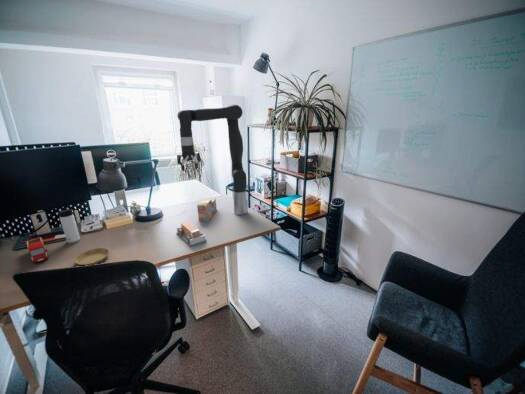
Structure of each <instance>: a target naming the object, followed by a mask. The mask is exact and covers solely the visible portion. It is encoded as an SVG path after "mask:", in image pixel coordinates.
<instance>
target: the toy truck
mask: <svg viewBox="0 0 525 394" xmlns="http://www.w3.org/2000/svg"><path fill="white" fill-rule="evenodd" d="M25 242H26V246H27V251H28V253H29V257H30V259H31V261H32V263H33V264H34V263H38V262H41V261H44V260H47V259H49V256H48V253H47V252H48V249H47V248H46V246H45V244H44V241H43V238H42V237H41V236H39V237H38V238H34V239H29V240H27V241H25Z"/></svg>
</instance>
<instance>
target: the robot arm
mask: <svg viewBox="0 0 525 394" xmlns="http://www.w3.org/2000/svg"><path fill="white" fill-rule="evenodd" d="M243 113H244V111H243V108H242V107H241V106H240V105H238V104H230V105H228V106H226V107H219V108H218V107H216V108H215V107H214V108H210V107H209V108H207V107H206V108H197V109H182V110H180V111H178V112H177V120H178V121H179V126H180V127H179V135H180V136H179V137H180V149H181V154H176V159H177V160H176V161H177V162H176V163H177V165H180V169H181V171H183V172H185V171H186V170H185V169H186V168H185V163H186V162H189V161H193V162H194V169H195V170H198V168H199V163H200V162H201V155H200V152H198V151H197V152H195V145H194V138H193V130H192V125H193V124H192V123H193V122H205V121H213V120H220V119H224V120H225V119H226V122H227V129H228V144H229V145H228V146H229V153H230V160H231V176H232V179H233V187H232V193H233V211H234V214H235V215H236V216H244V215H246V214H247V213H249V208H248V206H249V205H248V202H249V201H248V200H247V173H246V171H244V167H243V155H244V142H243V136H242V134H241V131H240V127H239V119H241V118H242V116H243ZM195 157H196V158H195ZM181 159H182V160H181Z"/></svg>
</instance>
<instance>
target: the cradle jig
mask: <svg viewBox="0 0 525 394" xmlns="http://www.w3.org/2000/svg"><path fill="white" fill-rule="evenodd" d="M176 234H177V236H179V238H181V240H182V241H184V242H185V243H186V244H187V245H188V246H189V247H190V248H192V247H194V246H197V245H199V244H203V243H205V242H207V240H208V239H206V235H205V234H204V233H203V232H201V231H200V236H199V237H196V238H193V239H191V238H190V237H189V236H186V235H185V234H184V233H183V232H182V227H181V226H177V227H176Z"/></svg>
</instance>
